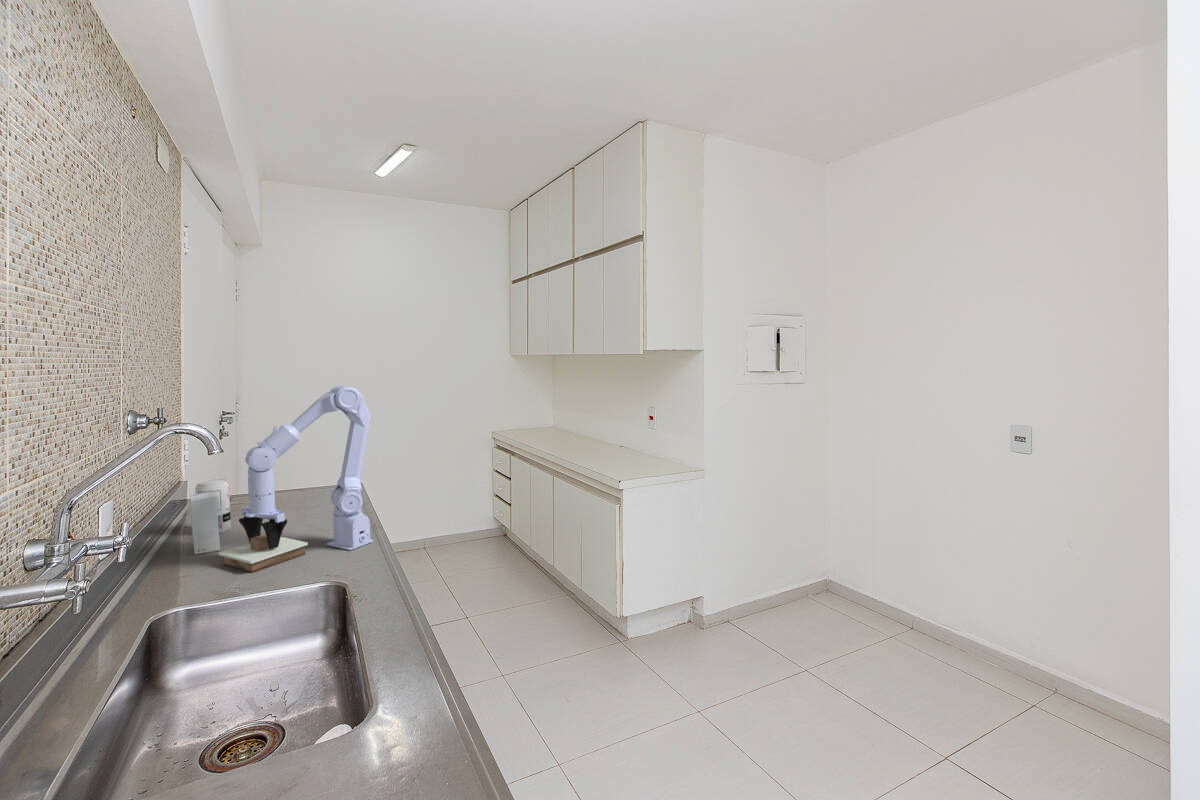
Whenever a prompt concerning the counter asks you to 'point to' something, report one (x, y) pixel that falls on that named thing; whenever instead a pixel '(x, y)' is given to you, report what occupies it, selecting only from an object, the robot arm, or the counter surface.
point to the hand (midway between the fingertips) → (264, 545)
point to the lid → (261, 549)
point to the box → (263, 561)
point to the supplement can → (218, 500)
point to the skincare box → (204, 522)
